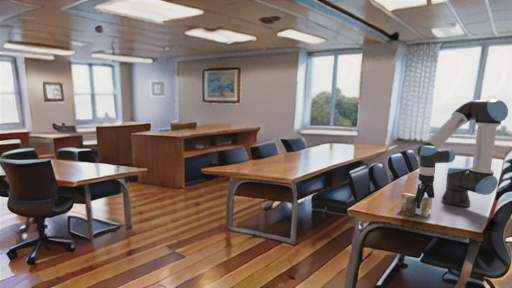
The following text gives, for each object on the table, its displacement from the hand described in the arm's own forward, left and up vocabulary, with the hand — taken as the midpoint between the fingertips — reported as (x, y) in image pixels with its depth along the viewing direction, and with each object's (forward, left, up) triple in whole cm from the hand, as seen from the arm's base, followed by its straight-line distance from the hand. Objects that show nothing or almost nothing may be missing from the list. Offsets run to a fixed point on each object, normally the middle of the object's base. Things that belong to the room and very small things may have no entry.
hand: (423, 211), depth 168 cm
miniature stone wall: (0, -5, -2) cm, 5 cm away
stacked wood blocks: (0, -5, -2) cm, 5 cm away
